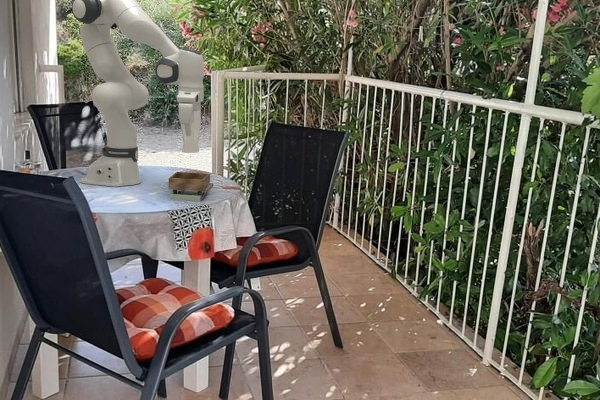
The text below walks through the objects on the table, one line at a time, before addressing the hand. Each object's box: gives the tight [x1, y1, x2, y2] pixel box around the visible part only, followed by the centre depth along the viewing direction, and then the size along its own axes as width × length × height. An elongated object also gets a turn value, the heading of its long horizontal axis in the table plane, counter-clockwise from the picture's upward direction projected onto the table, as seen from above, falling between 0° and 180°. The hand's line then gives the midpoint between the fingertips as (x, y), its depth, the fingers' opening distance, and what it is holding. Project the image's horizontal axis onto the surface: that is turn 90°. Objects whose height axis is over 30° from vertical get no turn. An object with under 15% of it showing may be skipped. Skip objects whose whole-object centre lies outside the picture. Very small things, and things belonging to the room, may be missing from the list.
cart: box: [168, 171, 211, 195], centre depth 221 cm, size 13×13×6 cm
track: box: [170, 182, 214, 202], centre depth 228 cm, size 11×27×2 cm, turn 178°
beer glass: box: [180, 110, 202, 154], centre depth 216 cm, size 7×7×15 cm
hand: (190, 134), depth 217 cm, fingers closed on beer glass, 6 cm apart
